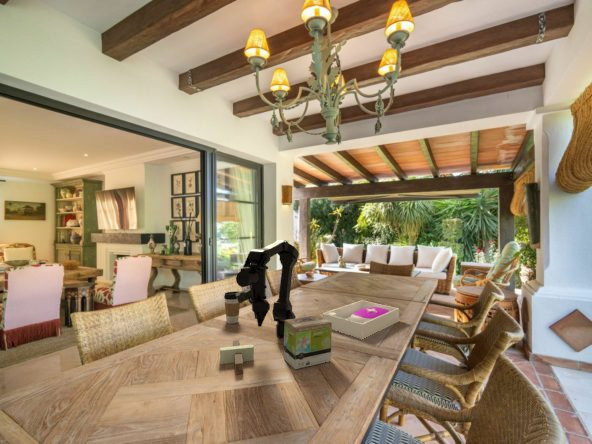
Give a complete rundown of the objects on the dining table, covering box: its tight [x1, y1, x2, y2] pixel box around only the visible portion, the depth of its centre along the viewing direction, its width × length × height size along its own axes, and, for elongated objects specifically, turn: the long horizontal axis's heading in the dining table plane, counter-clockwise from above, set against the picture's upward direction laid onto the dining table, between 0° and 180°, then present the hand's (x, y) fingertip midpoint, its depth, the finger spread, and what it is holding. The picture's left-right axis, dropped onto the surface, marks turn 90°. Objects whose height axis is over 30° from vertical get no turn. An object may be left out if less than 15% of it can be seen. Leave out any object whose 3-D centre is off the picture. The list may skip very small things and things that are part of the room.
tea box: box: [283, 314, 333, 371], centre depth 109 cm, size 15×10×15 cm, turn 117°
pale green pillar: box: [219, 344, 255, 365], centre depth 109 cm, size 12×2×5 cm, turn 105°
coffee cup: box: [223, 291, 241, 325], centre depth 152 cm, size 8×8×15 cm
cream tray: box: [322, 300, 400, 340], centre depth 149 cm, size 22×35×7 cm, turn 135°
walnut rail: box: [232, 339, 244, 375], centre depth 109 cm, size 2×20×4 cm, turn 14°
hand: (258, 322), depth 115 cm, fingers open, 9 cm apart
